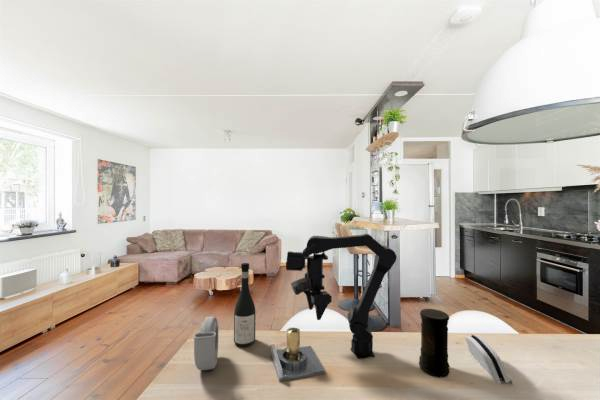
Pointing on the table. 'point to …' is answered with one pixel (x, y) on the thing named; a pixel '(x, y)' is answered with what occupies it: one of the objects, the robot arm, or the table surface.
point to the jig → (296, 364)
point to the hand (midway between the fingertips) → (314, 314)
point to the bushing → (293, 344)
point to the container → (434, 343)
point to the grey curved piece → (487, 358)
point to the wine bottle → (244, 313)
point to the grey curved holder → (206, 344)
